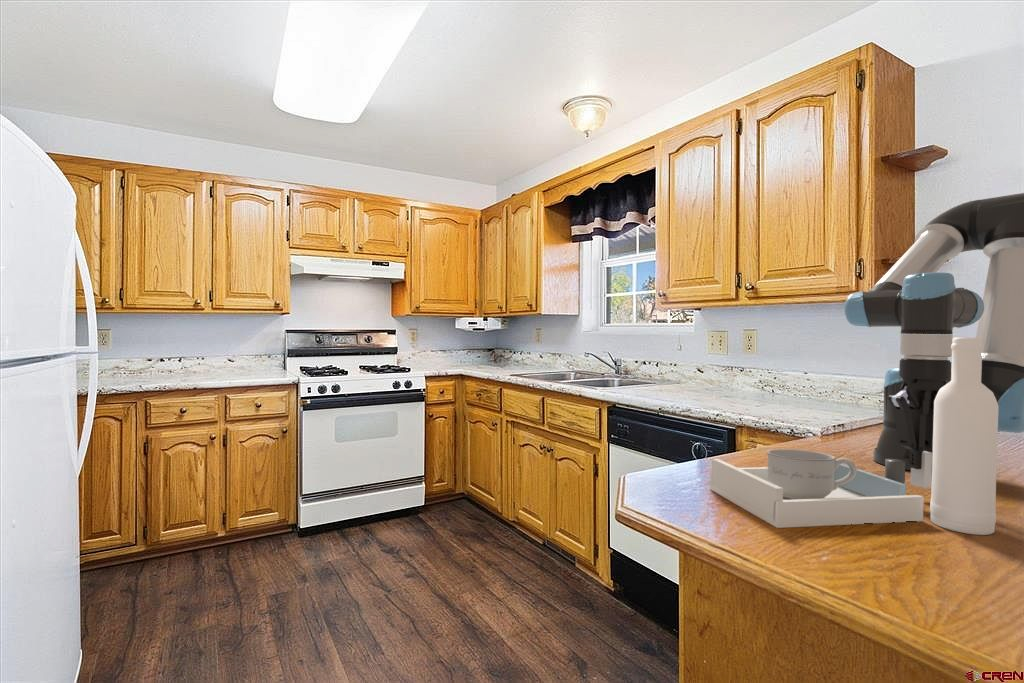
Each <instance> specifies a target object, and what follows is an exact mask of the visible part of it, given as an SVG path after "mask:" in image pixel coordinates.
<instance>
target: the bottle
mask: <svg viewBox="0 0 1024 683" xmlns="http://www.w3.org/2000/svg"><path fill="white" fill-rule="evenodd" d="M951 349H952V356H951V362H952V365H951V381H950V382H949V383H947V384H946V385H945V386H943V387H942V388H940V389H939V391H938V393H937V395H936V398H935V400H934V421H933V454H932V473H931V488H930V490H931V492H930V493H931V494H930V495H931V496H930V501H929V502H930V504H929V511H930V521H931V522H932V523H933V524H934V525H936V526H938V527H941V528H944V529H946V530H949V531H953V532H958V533H963V534H967V535H968V534H969V535H974V536H975V535H976V536H988V535H992V534H993V533H995V530H996V529H995V527H996V522H997V514H996V513H997V512H996V501H997V500H996V496H997V468H998V465H997V464H998V463H997V462H998V459H997V458H998V435H999V434H998V433H999V432H998V409H999V406H998V403H997V401H996V398H995V396H994V394H993V392H992V391H991V390H989V389H988V388H987V387H986V386H985V385H983V384H982V383H981V371H982V350H983V349H984V346H983V344H982V339H981V338H976V337H965V336H964V337H962V336H961V337H959V336H958V337H953V339H952V345H951Z"/></svg>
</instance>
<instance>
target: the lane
mask: <svg viewBox="0 0 1024 683" xmlns="http://www.w3.org/2000/svg"><path fill="white" fill-rule="evenodd" d="M709 472H710V475H709V478H710V479H709V480H710V481H709V489H710V490H711V491H712V492H714V493H716V494H718V495H719V496H721V497H723V498H724V499H726V500H728V501H730V502H731V503H733V504H735V505H737V506H738V507H740V508H741V509H743V510H745V511H747V512H749V513H750V514H752V515H754V516H756V517H757V518H759V519H761V520H762V521H764V522H766V523H768V524H770V525H771V526H773V527H775V528H776V529H778V528H780V529H783V528H784V529H785V528H803V527H807V528H808V527H825V526H827V527H828V526H845V525H846V526H849V525H851V524H852V525H865V524H864V523H873V524H889V523H890V524H891V523H892V522H895V523H907V522H906V521H917V522H923V521H924V501H925V500H924V496H922V495H919V494H911V495H910V494H909V495H908V494H906V495H903V496H876V497H868V496H865V495H862V494H860V493H857V492H855V491H852V490H849V489H847V488H844V487H842V486H839V487H838V488H837V489H836V490H833V491H832V492H831V493H830V494H829V495H828V496H826V497H824V498H821V499H794V500H793V499H789V498H785V497H783V488H781V487H779V486H777V485H775V484H772V483H770V482H769V479H768V466H762V467H760V466H758V467H756V466H755V467H751V466H750V467H737V466H735V465H733V464H730V463H728V462H726V461H724V460H722V459H719V458H712V459H711V468H710V471H709Z"/></svg>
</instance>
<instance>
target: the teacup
mask: <svg viewBox="0 0 1024 683" xmlns="http://www.w3.org/2000/svg"><path fill="white" fill-rule="evenodd" d="M766 454H767V467H768V479H769V482H770V483H772V484H775V485H777V486H779V487H781V488H783V497H785V498H789V499H793V500H794V499H821V498H824V497H826V496H828V495H829V494H830V493H831V492H832V491H833V490H836V489H837V488H838V487H839V486H841V485H843V484H845V483H847V482H849V481H851V480H852V479H853V478H854V477H855V475H856V473H857V469H858V468H857V466H856V464H855V463H854V461H852V460H851V459H849V458H847V457H839V458H836V457H835V456H834V455H832V454H829V453H824V452H818V451H814V450H813V451H812V450H804V449H791V448H780V449H779V448H777V449H775V448H774V449H773V448H772V449H769V450H767V451H766ZM840 464H845V465H848V466H849V468H850V471H849V473H848V475H847V476H845V477H844V478H842V479H839V480H835V481H834V472H836V470H837V468H838V466H839V465H840ZM856 468H857V469H856Z"/></svg>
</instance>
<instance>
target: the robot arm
mask: <svg viewBox="0 0 1024 683" xmlns="http://www.w3.org/2000/svg"><path fill="white" fill-rule="evenodd" d="M977 250H978V251H979V250H980V251H981V250H982V252H983V254H984V255H985V256H986V257H988V258H989V264H988V270H987V274H986V280H985V286H984V291H983V297H981V296H980V295H979V294H978V293H977V292H975V291H973V290H971V289H968V288H965V287H956V285H955V277H954V275H953V274H952V273H949V272H938V271H939V270H940V269H941V268H942V267H943V265H944V264H945V263H946V262H947V261H950V260H952V259H954V258H956V257H957V256H958V255H959V254H960V253H964V252H971V251H977ZM844 315H845V318H846V320H847V322H848V323H849V324H850V325H851V326H855V327H867V328H872V327H873V328H875V327H876V328H877V327H881V328H882V327H883V328H884V327H887V328H888V327H900V347H899V348H900V349H899V354H900V356H903V357H904V358H900V360H899V366H898V367H891V368H889V369H888V370H887V371H886V373H885V375H884V376H885V377H884V385H883V423H882V424H883V425H882V431H881V434H880V435H879V438H878V442H877V444H876V446H875V447H874V449H873V452H872V453H873V461H874V462H876V463H877V464H881V465H883V466H885V459H897V460H902V461H905V462H906V464H905V471H906V470H907V471H910V485H912V486H915V487H918V488H921V489H931V488H932V454H933V421H934V400H935V398H936V395H937V393H938V391H939V389H940V388H942V387H943V386H945V385H946V384H947V383H949V382H950V381H951V371H952V361H951V360H950V359H949V358H950V357H951V358H952V349H951V345H952V339H953V338H954V337H953V329H954V328H957V329H959V328H965V327H968V326H972V325H973V324H975V323H976V322H977V321H978V323H977V328H976V329H977V330H976V333H975V338H981V339H982V344H983V346H984V349H983V350H982V371H981V383H982V384H983V385H985V386H986V387H987V388H988V389H989V390H991V391H992V392H993V394H994V396H995V398H996V401H997V403H998V406H999V409H998V433H1000V432H1003V433H1013V434H1014V433H1015V434H1018V433H1024V192H1021V193H1016V194H1015V193H1014V194H1008V195H1002V196H997V197H996V196H995V197H989V198H983V199H975V200H970V201H967V202H963V203H961V204H958V205H956V206H954V207H951V208H949V209H947V210H946V211H945V212H941V214H939V215H937V216H936V217H935V218H933V219H932V220H930V221H929V222H928V223H927V224H925V225H924V226H923V227H922V228H921V229H920V230H919V231H918V232H917V234H916V235H915V238H914V243H913V244H912V245H911V246H910V247H909V248H908V249H907V250H906V252H905V253H904V254H903V255H902V256H901V257H900V258H899V259H898V260H897V261H896V262H895V263H894V264H893V265H892V266H891V267H890V269H888V271H886V273H885V274H883V276H882V277H880V279H879V280H878V281H877V282H876V283H875V284H874V286H872V287H871V288H870V289H869V290H868V291H864V290H861V291H857V292H852V293H850V294H849V295H848V296H847V298H846V300H845V303H844Z"/></svg>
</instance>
